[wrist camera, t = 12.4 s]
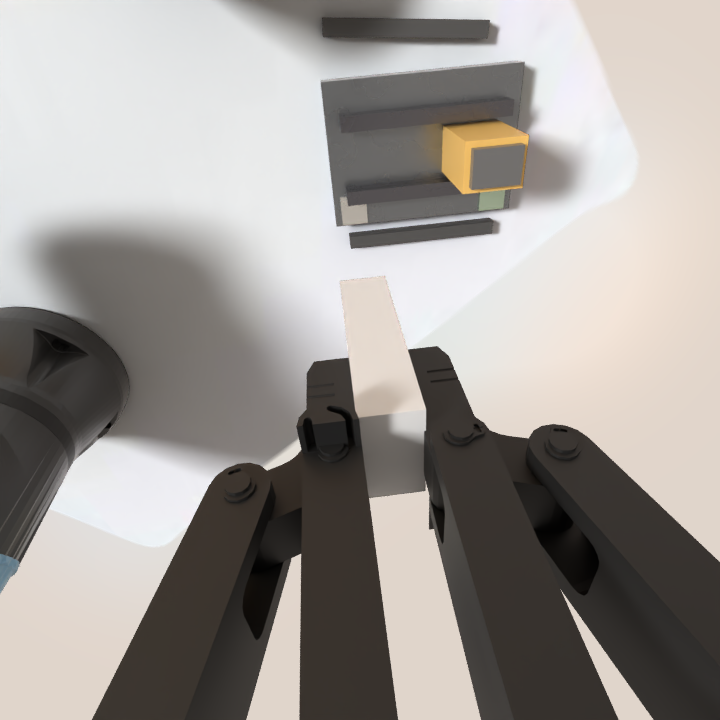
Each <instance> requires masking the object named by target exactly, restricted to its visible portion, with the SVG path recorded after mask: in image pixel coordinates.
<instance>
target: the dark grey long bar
mask: <svg viewBox="0 0 720 720" xmlns="http://www.w3.org/2000/svg"><path fill="white" fill-rule="evenodd" d="M492 226H493V221H492V220H491V219H490V218H483V219H473V220H464V221H455V222H446V223H436V224H427V225H418V226H409V227H399V228H390V229H381V230H372V231H362V232H353V233H349V236H350V245H351V249H353V248H362V247H371V246H380V245H390V244H399V243H408V242H417V241H426V240H436V239H445V238H454V237H463V236H472V235H481V234H491V233H492Z"/></svg>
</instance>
